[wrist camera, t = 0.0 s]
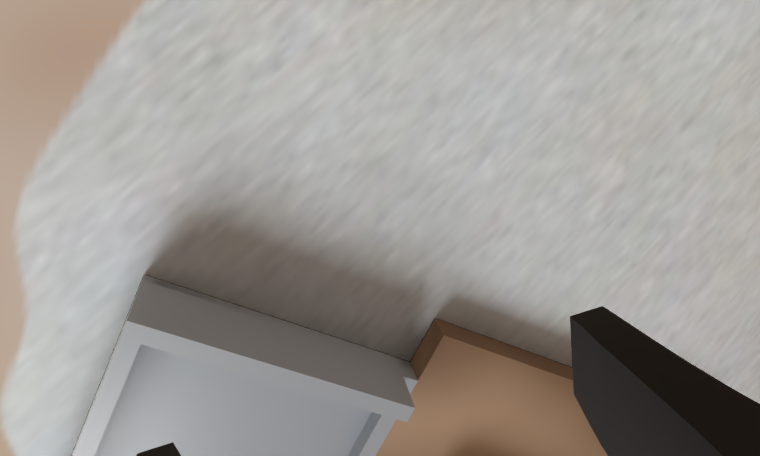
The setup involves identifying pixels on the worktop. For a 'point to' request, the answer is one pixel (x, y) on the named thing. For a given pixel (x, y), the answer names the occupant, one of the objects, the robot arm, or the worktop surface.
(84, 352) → the worktop surface
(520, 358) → the board
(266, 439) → the box
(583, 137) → the worktop surface
